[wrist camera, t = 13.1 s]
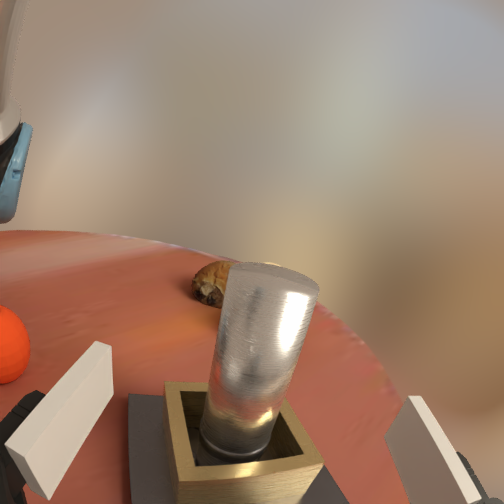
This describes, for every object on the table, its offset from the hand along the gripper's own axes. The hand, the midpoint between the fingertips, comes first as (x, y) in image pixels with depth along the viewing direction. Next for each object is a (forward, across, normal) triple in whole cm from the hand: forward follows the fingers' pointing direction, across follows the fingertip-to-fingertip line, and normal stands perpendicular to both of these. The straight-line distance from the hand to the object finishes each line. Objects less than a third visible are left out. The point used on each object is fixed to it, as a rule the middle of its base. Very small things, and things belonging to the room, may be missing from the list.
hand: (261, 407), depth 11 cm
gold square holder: (+4, 0, -11) cm, 12 cm away
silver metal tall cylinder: (+4, 0, -10) cm, 11 cm away
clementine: (+6, -22, -11) cm, 25 cm away
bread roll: (+37, -4, -11) cm, 39 cm away
